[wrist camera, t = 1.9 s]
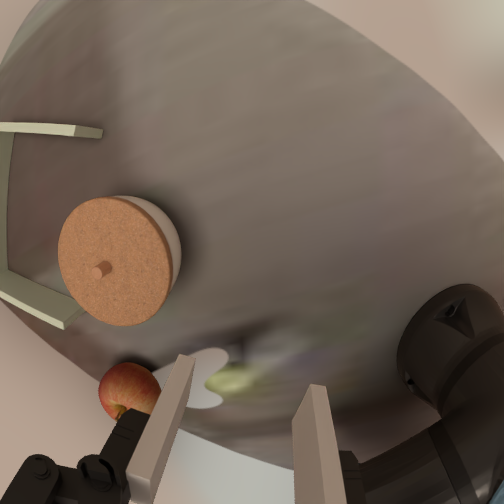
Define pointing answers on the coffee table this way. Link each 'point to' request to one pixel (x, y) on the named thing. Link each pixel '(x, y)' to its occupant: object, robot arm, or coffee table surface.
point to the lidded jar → (119, 258)
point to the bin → (3, 280)
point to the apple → (128, 390)
